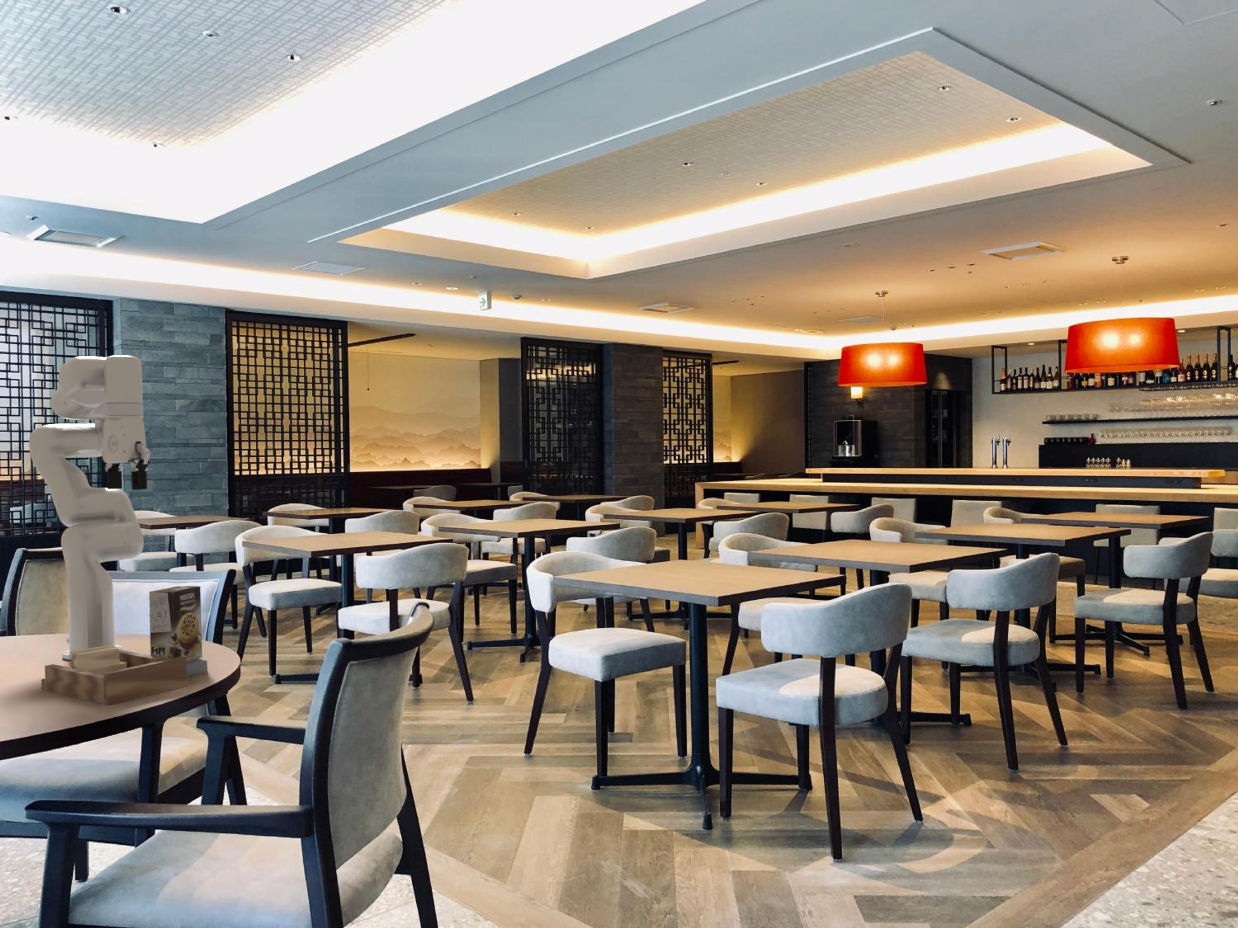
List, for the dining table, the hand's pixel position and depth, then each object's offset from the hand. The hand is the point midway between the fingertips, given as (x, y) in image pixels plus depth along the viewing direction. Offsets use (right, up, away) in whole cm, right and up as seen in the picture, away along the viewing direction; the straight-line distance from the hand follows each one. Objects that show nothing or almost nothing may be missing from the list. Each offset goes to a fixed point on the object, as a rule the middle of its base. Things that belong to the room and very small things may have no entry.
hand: (126, 489), depth 215 cm
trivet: (+12, -40, -3) cm, 42 cm away
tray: (+5, -41, -15) cm, 43 cm away
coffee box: (+13, -38, -3) cm, 40 cm away
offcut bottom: (-1, -41, -10) cm, 42 cm away
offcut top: (-1, -37, -11) cm, 39 cm away
